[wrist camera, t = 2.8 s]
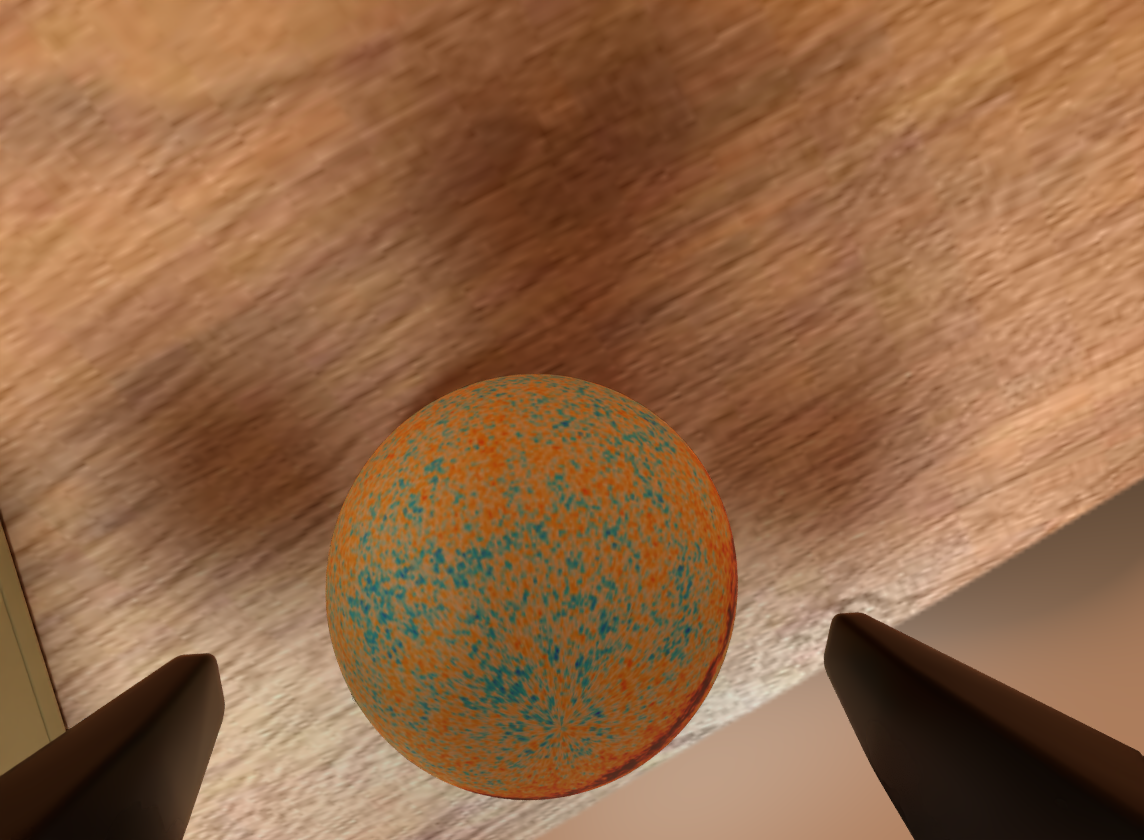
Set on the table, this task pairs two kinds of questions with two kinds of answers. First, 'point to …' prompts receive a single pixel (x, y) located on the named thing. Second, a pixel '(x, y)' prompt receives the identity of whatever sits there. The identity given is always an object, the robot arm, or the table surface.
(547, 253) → the table surface
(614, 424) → the ball
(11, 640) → the carton
